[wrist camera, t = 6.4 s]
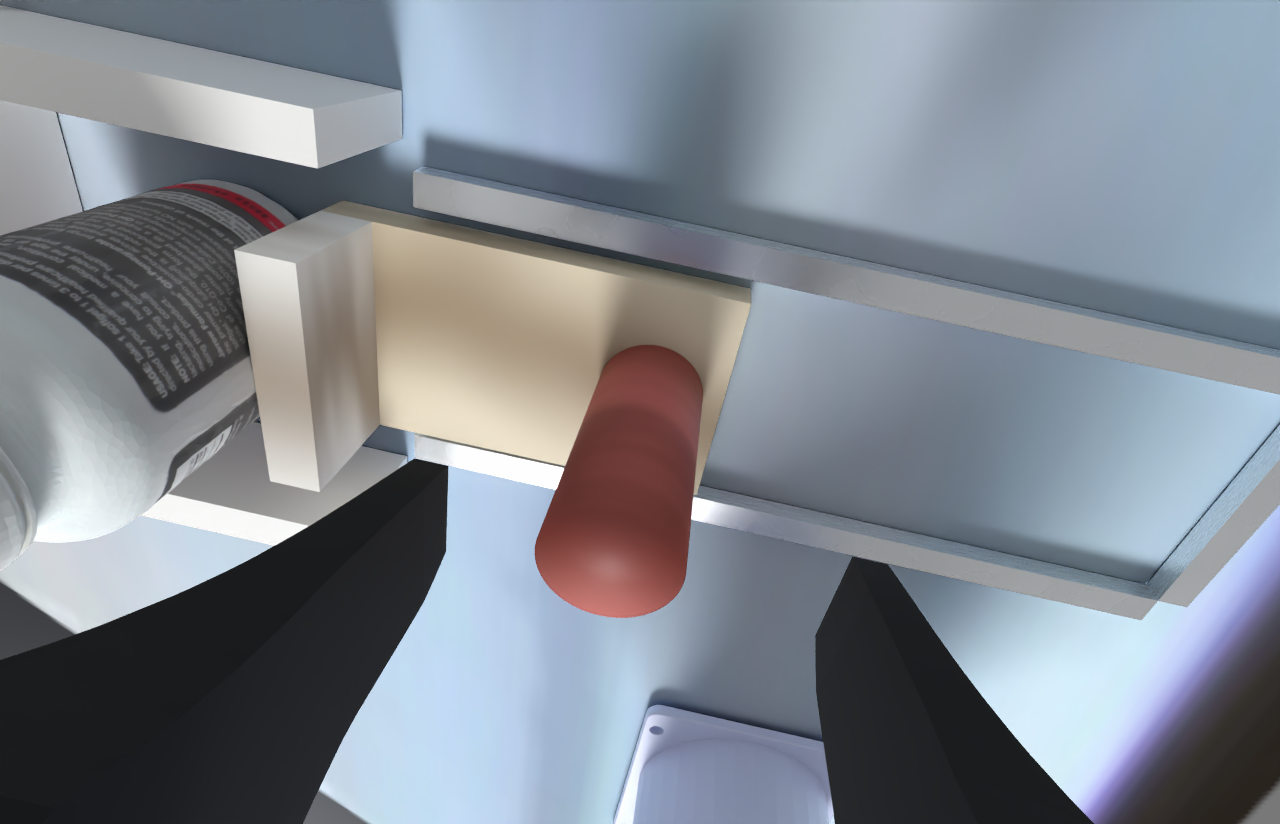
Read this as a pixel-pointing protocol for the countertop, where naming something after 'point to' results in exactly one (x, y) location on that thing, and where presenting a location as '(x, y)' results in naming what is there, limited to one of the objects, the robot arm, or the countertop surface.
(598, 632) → the countertop surface
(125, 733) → the robot arm
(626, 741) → the countertop surface
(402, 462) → the frame
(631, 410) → the red peg in tray
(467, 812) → the countertop surface
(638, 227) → the track
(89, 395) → the pill bottle
